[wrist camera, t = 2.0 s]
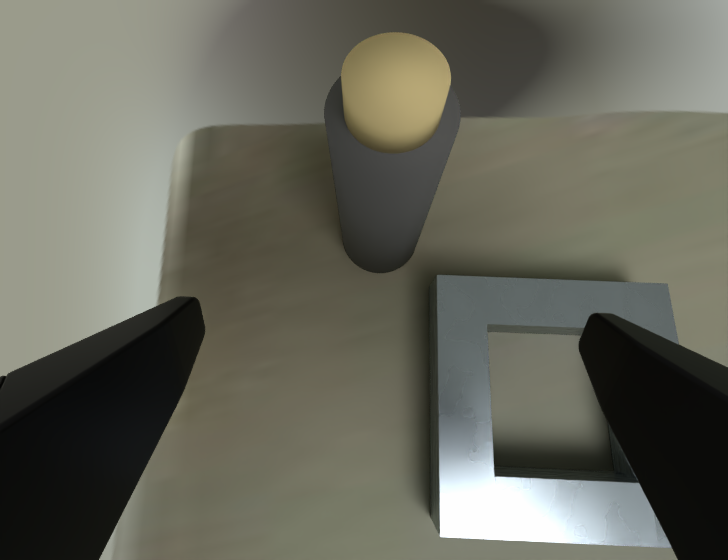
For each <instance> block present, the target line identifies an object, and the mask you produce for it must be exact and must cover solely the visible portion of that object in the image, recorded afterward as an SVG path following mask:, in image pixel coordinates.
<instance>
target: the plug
mask: <svg viewBox="0 0 728 560" xmlns="http://www.w3.org/2000/svg"><path fill="white" fill-rule="evenodd" d="M450 82H451V74H450V69H449V65H448V63H447V61H446V59H445V57H444V56H443V54H442V53H441V52H440V51H439V50H438V49H437V48H436V47H435V46H434V45H433V44H431V43H430V42H428V41H427V40H425V39H423V38H420V37H417V36H415V35H411V34H407V33H398V32H394V33H393V32H391V33H383V34H379V35H375V36H372V37H370V38H368V39H365V40H364V41H362V42H360V43H359V44H358V45H356V46H355V47H354V48H353V49H352V50H351V51H350V53H349V54H348V56H347V57H346V59H345V61H344V64H343V67H342V72H341V76H340V77H339V79H338V80H337V81H336V82H335V84H334V85H333V86H332V88H331V90H330V92H329V94H328V96H327V99H326V103H325V109H324V118H325V124H326V131H327V137H328V144H329V151H330V157H331V164H332V170H333V177H334V184H335V190H336V197H337V203H338V210H339V217H340V223H341V230H342V237H343V243H344V248H345V251H346V253H347V255H348V256H349V258H350V259H351V260H352V261H353V262H354V263H355V264H356V265H357V266H359V267H360V268H362V269H364V270H367V271H370V272H375V273H386V272H390V271H394V270H396V269H398V268H400V267H401V266H403V265H404V264H405V263H406V262H407V261H408V260H409V259H410V258H411V256H412V254H413V253H414V250H415V247H416V244H417V242H418V239H419V236H420V234H421V231H422V228H423V225H424V223H425V220H426V217H427V214H428V212H429V209H430V206H431V203H432V201H433V198H434V195H435V192H436V190H437V187H438V184H439V181H440V179H441V176H442V173H443V170H444V168H445V165H446V162H447V159H448V157H449V154H450V151H451V149H452V146H453V143H454V140H455V138H456V135H457V132H458V129H459V125H460V116H461V115H460V114H461V113H460V105H459V102H458V98H457V96H456V94H455V92H454V90H453V88H452V87H451V85H450Z"/></svg>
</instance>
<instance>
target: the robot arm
mask: <svg viewBox="0 0 728 560" xmlns="http://www.w3.org/2000/svg"><path fill="white" fill-rule="evenodd" d="M204 335H205V324H204V320H203V315H202V311H201V306H200V303H199V300H198V299H197V298H195V297H184V296H180V297H176V298H174V299H171V300H169V301H167V302H165V303H163V304H160V305H158V306H156V307H154V308H152V309H149V310H147V311H145V312H143V313H141V314H138V315H136V316H134V317H132V318H129V319H127V320H125V321H123V322H121V323H118V324H116V325H114V326H112V327H109V328H108V329H105V330H103V331H101V332H98V333H96V334H94V335H92V336H90V337H88V338H85V339H83V340H81V341H79V342H77V343H74V344H72V345H70V346H68V347H65V348H63V349H61V350H59V351H57V352H54V353H52V354H50V355H48V356H46V357H43V358H41V359H39V360H37V361H34V362H32V363H30V364H28V365H25V366H23V367H21V368H19V369H17V370H14V371H12V372H10V373H8V374H7V376H1V377H0V560H99V558H100V556H101V554H102V552H103V551H104V548H105V547H106V545H107V542H108V541H109V539H110V537H111V535H112V533H113V531H114V529H115V527H116V525H117V523H118V521H119V519H120V517H121V515H122V513H123V511H124V509H125V507H126V505H127V503H128V501H129V499H130V497H131V495H132V493H133V491H134V489H135V487H136V485H137V483H138V481H139V479H140V477H141V475H142V473H143V471H144V469H145V467H146V465H147V463H148V461H149V460H150V458H151V456H152V454H153V452H154V450H155V448H156V446H157V444H158V442H159V440H160V438H161V436H162V434H163V432H164V430H165V428H166V426H167V424H168V422H169V420H170V418H171V416H172V414H173V412H174V410H175V408H176V406H177V404H178V402H179V400H180V398H181V396H182V394H183V391H184V389H185V387H186V384H187V381H188V379H189V376H190V373H191V371H192V368H193V365H194V362H195V360H196V357H197V354H198V352H199V349H200V346H201V343H202V341H203V338H204ZM579 352H580V355H581V357H582V360H583V362H584V365H585V368H586V370H587V373H588V376H589V378H590V381H591V383H592V386H593V389H594V391H595V394H596V397H597V399H598V402H599V404H600V406H601V409H602V411H603V413H604V415H605V417H606V419H607V422H608V424H609V425H610V427H611V429H612V431H613V433H614V435H615V437H616V439H617V441H618V443H619V445H620V447H621V449H622V451H623V453H624V455H625V457H626V459H627V461H628V463H629V465H630V467H631V469H632V471H633V473H634V475H635V476H636V478H637V480H638V482H639V484H640V486H641V488H642V490H643V492H644V494H645V496H646V498H647V500H648V502H649V504H650V506H651V508H652V510H653V512H654V514H655V516H656V518H657V520H658V522H659V524H660V526H661V527H662V529H663V531H664V533H665V535H666V537H667V539H668V541H669V543H670V545H671V547H672V549H673V551H674V553H675V555H676V557H677V559H678V560H728V367H726V366H723V365H721V364H719V363H717V362H715V361H713V360H711V359H708V358H706V357H704V356H702V355H700V354H698V353H696V352H694V351H691V350H689V349H687V348H685V347H683V346H681V345H679V344H677V343H674V342H672V341H670V340H668V339H666V338H664V337H662V336H659V335H657V334H655V333H653V332H651V331H649V330H647V329H645V328H642V327H640V326H638V325H636V324H634V323H632V322H630V321H627V320H625V319H623V318H621V317H619V316H617V315H615V314H612V313H593V314H591V315H590V316H589V318H588V320H587V322H586V325H585V328H584V330H583V333H582V335H581V338H580V341H579Z"/></svg>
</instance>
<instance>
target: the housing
mask: <svg viewBox="0 0 728 560" xmlns="http://www.w3.org/2000/svg"><path fill="white" fill-rule="evenodd" d="M593 313H612V314H615V315H617V316H619V317H621V318H623V319H625V320H627V321H630V322H632V323H634V324H636V325H638V326H640V327H642V328H645V329H647V330H649V331H651V332H653V333H655V334H657V335H659V336H662V337H664V338H666V339H668V340H670V341H672V342H674V343H677V344H679V343H678V337H677V332H676V326H675V321H674V316H673V310H672V305H671V300H670V294H669V289H668V284H662V283H636V282H610V281H584V280H558V279H532V278H506V277H480V276H454V275H437V276H436V277H435V279H434V280H433V282H432V283H431V285H430V286H429V346H430V499H431V519H432V521H433V523H434V525H435V527H436V529H437V531H438V533H439V535H440V537H453V538H474V539H495V540H516V541H537V542H558V543H579V544H600V545H621V546H641V547H662V548H672V547H671V545H670V543H669V541H668V539H667V537H666V535H665V533H664V531H663V529H662V527H661V526H660V524H659V522H658V520H657V518H656V516H655V514H654V512H653V510H652V508H651V506H650V504H649V502H648V500H647V498H646V496H645V494H644V492H643V490H642V488H641V486H640V484H639V482H638V480H637V478H636V476H635V475H634V473H633V471H632V469H631V467H630V465H629V463H628V461H627V459H626V457H625V455H624V453H623V451H622V449H621V447H620V445H619V443H618V441H617V439H616V437H615V435H614V433H613V431H612V429H611V427H610V425H609V424H608V428H609V436H610V443H611V451H612V459H613V467H614V471H592V470H570V469H548V468H526V467H504V466H494V458H493V437H492V417H491V396H490V376H489V355H488V335H487V332H511V333H536V334H561V335H582V333H583V330H584V328H585V325H586V322H587V320H588V318H589V316H590V315H591V314H593Z"/></svg>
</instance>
